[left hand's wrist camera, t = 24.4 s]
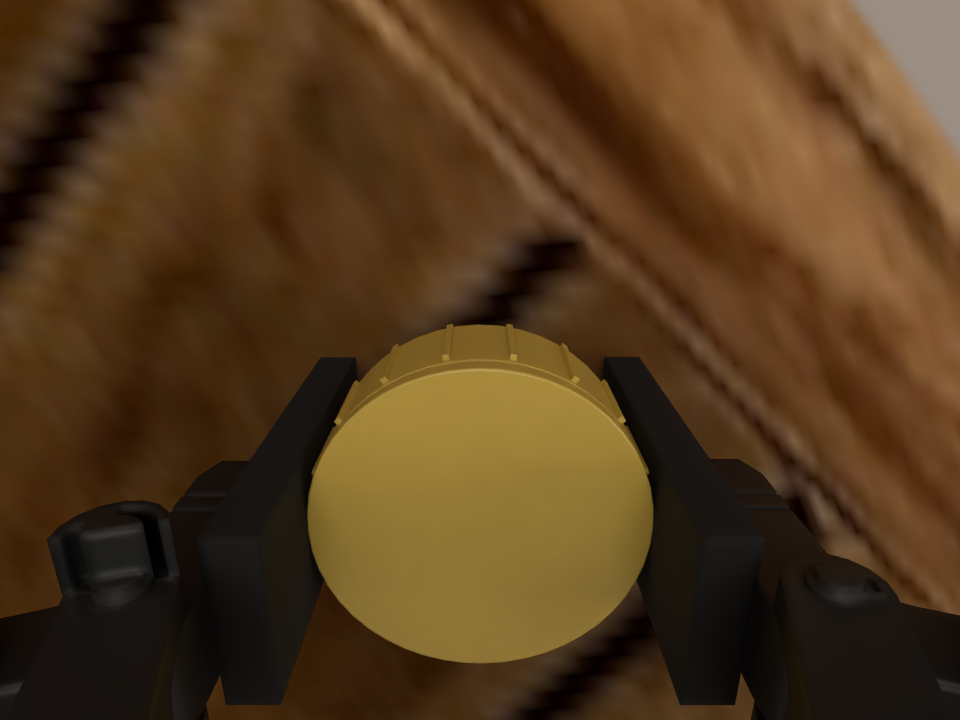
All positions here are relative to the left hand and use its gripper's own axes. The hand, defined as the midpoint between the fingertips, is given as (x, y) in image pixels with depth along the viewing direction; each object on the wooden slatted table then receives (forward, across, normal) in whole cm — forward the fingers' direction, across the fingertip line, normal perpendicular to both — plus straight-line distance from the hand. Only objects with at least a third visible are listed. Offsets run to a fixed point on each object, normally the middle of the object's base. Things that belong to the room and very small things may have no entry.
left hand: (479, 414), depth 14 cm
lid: (-4, 0, 0) cm, 4 cm away
